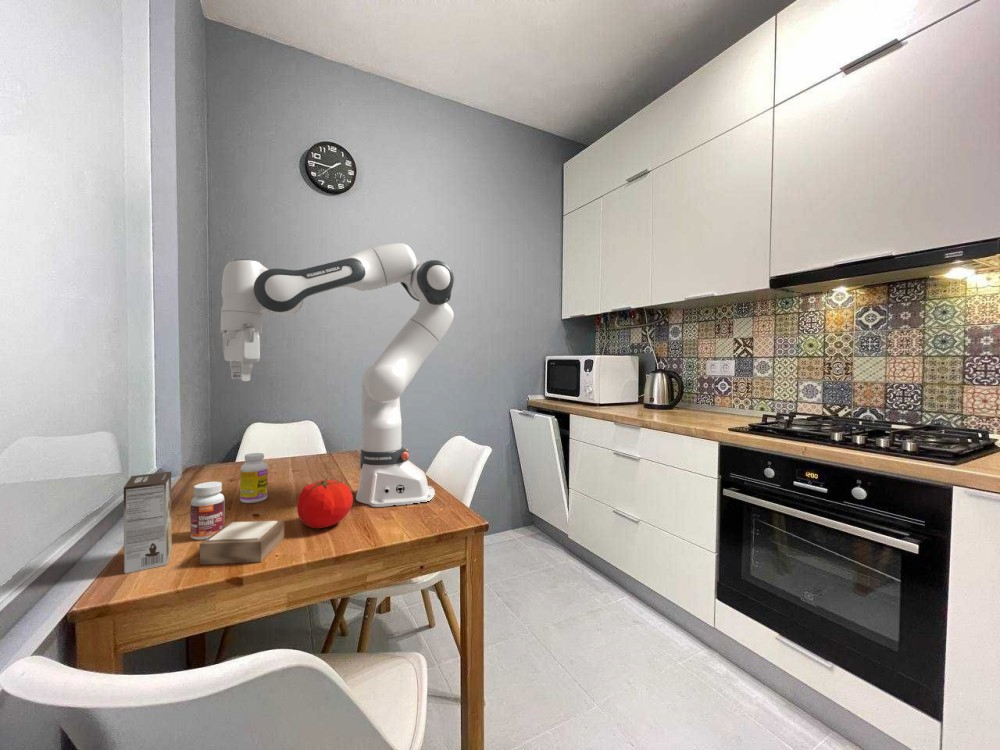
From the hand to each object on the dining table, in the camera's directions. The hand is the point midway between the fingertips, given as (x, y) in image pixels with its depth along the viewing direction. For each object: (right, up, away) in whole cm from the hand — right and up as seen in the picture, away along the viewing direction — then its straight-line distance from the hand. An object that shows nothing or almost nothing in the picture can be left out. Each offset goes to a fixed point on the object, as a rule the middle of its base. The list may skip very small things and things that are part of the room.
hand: (240, 380), depth 102 cm
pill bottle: (0, -35, -11) cm, 36 cm away
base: (+13, -35, -19) cm, 41 cm away
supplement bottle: (-4, -34, +13) cm, 37 cm away
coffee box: (-3, -35, -23) cm, 42 cm away
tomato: (+23, -35, -4) cm, 42 cm away
